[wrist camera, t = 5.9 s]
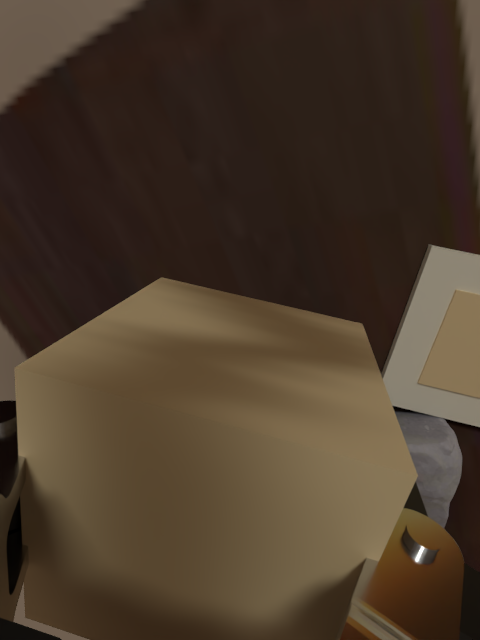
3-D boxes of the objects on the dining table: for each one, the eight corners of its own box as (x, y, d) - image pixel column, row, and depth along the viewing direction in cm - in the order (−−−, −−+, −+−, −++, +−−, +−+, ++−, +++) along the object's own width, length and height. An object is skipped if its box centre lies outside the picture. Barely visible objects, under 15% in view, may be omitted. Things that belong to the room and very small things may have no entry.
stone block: (430, 498, 29) (452, 400, 24) (447, 565, 25) (479, 464, 20) (274, 484, 31) (265, 392, 26) (267, 542, 27) (255, 448, 22)
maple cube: (362, 323, 10) (418, 475, 5) (309, 484, 12) (309, 713, 7) (161, 277, 10) (15, 367, 5) (143, 438, 12) (25, 617, 7)
